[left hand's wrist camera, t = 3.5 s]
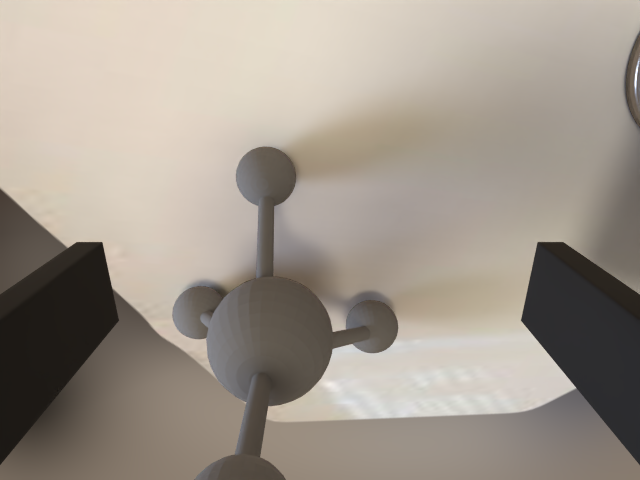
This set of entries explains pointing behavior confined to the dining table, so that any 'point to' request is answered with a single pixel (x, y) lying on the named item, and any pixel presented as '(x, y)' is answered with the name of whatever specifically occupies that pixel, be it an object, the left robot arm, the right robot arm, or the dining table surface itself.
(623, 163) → the dining table surface
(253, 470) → the molecular model
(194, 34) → the dining table surface
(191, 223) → the dining table surface
